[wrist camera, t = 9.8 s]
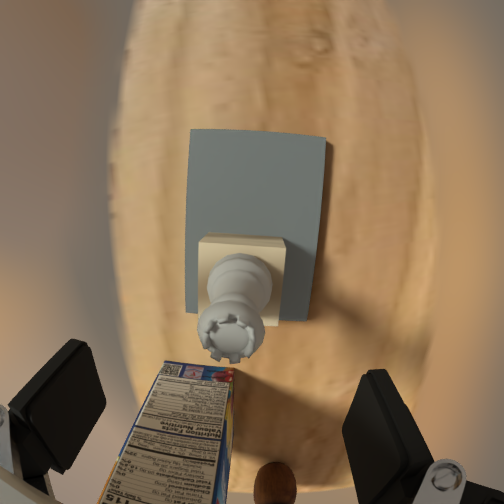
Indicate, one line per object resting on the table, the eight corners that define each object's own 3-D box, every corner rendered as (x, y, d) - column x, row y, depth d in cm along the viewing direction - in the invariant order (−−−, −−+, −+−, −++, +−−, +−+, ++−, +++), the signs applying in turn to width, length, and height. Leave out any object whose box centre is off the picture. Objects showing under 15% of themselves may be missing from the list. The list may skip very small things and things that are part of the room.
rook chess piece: (272, 251, 19) (280, 296, 12) (271, 310, 21) (276, 380, 13) (207, 250, 20) (175, 294, 12) (210, 309, 21) (185, 376, 13)
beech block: (208, 232, 23) (198, 242, 19) (281, 237, 23) (286, 248, 19) (207, 299, 25) (198, 320, 21) (275, 304, 25) (277, 326, 21)
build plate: (193, 131, 22) (190, 129, 21) (323, 139, 22) (326, 137, 21) (188, 307, 26) (185, 312, 25) (305, 316, 26) (306, 321, 25)
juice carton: (233, 436, 31) (214, 604, 7) (176, 429, 31) (129, 586, 7) (234, 366, 28) (201, 602, 4) (164, 359, 28) (71, 561, 4)
